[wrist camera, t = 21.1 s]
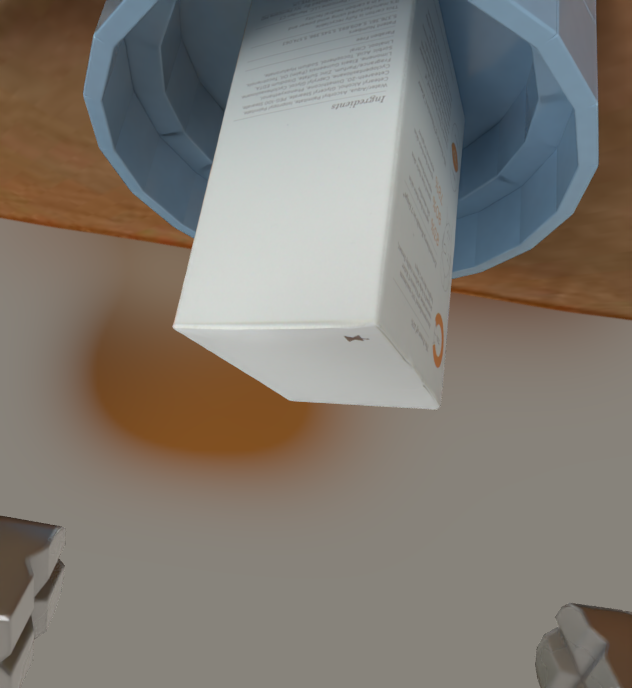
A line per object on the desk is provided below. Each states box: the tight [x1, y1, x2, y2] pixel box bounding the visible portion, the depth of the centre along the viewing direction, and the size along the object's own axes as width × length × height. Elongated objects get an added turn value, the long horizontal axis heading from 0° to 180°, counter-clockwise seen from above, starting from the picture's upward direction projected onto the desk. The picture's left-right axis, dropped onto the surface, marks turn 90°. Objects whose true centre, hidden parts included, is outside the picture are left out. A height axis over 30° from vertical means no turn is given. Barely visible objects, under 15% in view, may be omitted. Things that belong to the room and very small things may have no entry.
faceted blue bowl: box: [83, 0, 599, 279], centre depth 21 cm, size 17×17×6 cm
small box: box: [173, 0, 465, 409], centre depth 20 cm, size 8×6×13 cm
